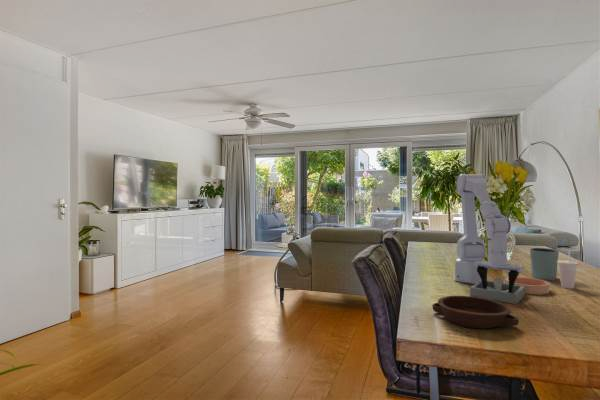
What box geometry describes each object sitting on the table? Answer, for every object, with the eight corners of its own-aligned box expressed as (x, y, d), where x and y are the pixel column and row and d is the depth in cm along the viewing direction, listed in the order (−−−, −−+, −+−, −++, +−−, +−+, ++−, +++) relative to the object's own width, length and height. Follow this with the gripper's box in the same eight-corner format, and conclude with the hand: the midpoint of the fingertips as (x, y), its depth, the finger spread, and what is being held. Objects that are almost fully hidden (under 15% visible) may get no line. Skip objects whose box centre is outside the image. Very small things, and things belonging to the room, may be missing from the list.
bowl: (501, 289, 128) (501, 281, 128) (510, 282, 138) (510, 275, 138) (546, 296, 119) (546, 287, 119) (551, 288, 129) (551, 280, 129)
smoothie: (582, 289, 127) (582, 252, 126) (562, 289, 128) (562, 251, 128) (572, 285, 133) (572, 249, 133) (553, 284, 134) (553, 249, 134)
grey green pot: (547, 274, 151) (547, 247, 151) (565, 280, 141) (565, 251, 141) (524, 275, 151) (524, 247, 151) (540, 280, 141) (540, 251, 141)
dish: (516, 341, 83) (516, 321, 83) (423, 322, 96) (423, 305, 96) (520, 320, 97) (520, 302, 97) (439, 306, 110) (439, 290, 110)
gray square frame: (470, 295, 120) (470, 287, 120) (481, 287, 131) (481, 280, 131) (516, 304, 111) (516, 294, 111) (525, 294, 121) (525, 286, 121)
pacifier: (507, 300, 116) (511, 295, 120) (507, 281, 115) (511, 277, 120) (483, 295, 121) (488, 291, 125) (483, 278, 120) (487, 274, 125)
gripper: (471, 250, 123) (472, 288, 123) (519, 255, 113) (519, 296, 113) (477, 248, 128) (477, 284, 128) (523, 252, 118) (523, 291, 118)
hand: (497, 289), depth 121 cm, fingers closed on pacifier, 7 cm apart
